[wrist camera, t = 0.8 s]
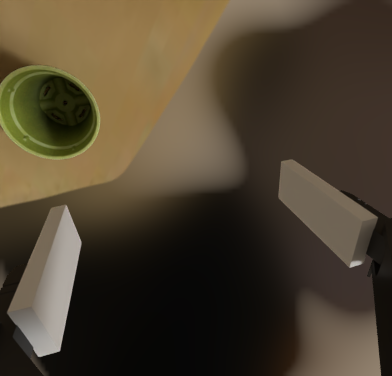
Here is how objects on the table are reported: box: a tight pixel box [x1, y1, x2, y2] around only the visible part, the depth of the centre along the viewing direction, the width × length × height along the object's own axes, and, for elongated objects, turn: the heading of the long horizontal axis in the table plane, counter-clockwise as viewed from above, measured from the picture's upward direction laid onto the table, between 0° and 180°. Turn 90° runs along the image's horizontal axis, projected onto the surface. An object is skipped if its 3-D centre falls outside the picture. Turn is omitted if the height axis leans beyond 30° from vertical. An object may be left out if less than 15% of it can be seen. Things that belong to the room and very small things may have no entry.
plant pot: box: [0, 65, 100, 160], centre depth 30 cm, size 9×9×9 cm
